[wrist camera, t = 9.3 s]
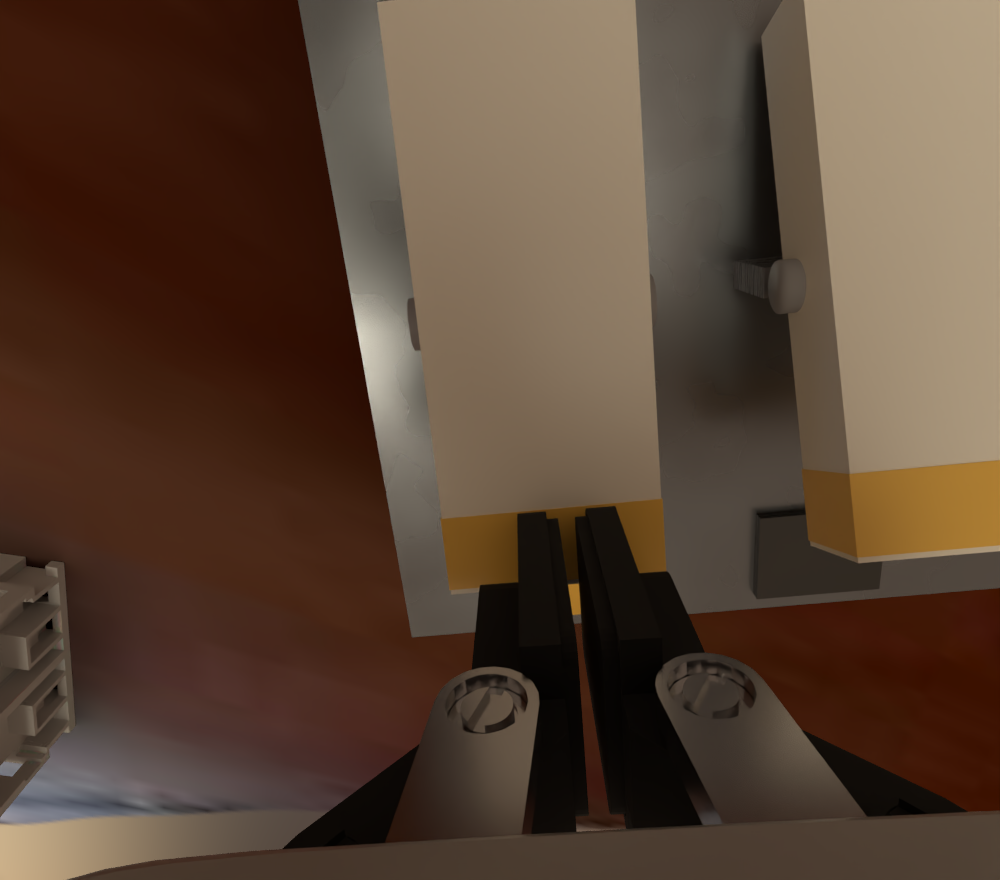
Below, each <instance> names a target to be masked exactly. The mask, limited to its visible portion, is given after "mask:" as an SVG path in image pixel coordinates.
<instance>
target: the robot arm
mask: <svg viewBox="0 0 1000 880" xmlns="http://www.w3.org/2000/svg"><path fill="white" fill-rule="evenodd" d="M575 531H576V546H577V562H578V577H579V593H580V608H581V624H582V639H583V650H584V658H585V664H586V670H587V677H588V683H589V689H590V695H591V701H592V707H593V713H594V720H595V726H596V732H597V738H598V744H599V750H600V757H601V763H602V769H603V775H604V781H605V787H606V793H607V800H608V806H609V811H610V814H624V819H625V825H626V829H620V830H601V831H583V832H576V820H575V816H589V812H588V796H587V782H586V767H585V752H584V738H583V723H582V708H581V694H580V679H579V664H578V653H577V643H576V634H575V627H574V621H573V614H572V608H571V601H570V594H569V588H568V581H567V574H566V568H565V561H564V555H563V548H562V541H561V535H560V528H559V522H558V518H554V519H547V517H546V511H545V512H533V513H520V514H517V534H518V582H513V583H499V584H486V585H480V588H479V597H478V608H477V619H476V630H475V641H474V652H473V663H472V670H471V671H467V672H464V673H462V674H461V675H459V676H457V677H455V678H453V679H452V680H450V681H449V682H448V683H447V684H446V685H445V686H444V687H443V688H442V689H441V690H440V692H439V694H438V696H437V697H436V699H435V701H434V704H433V707H432V710H431V713H430V716H429V719H428V721H427V724H426V727H425V730H424V733H423V736H422V739H421V741H420V744H419V745H418V746H416V747H415V748H414V749H412V750H411V751H410V752H408V753H407V754H406V755H404V756H403V757H402V758H400V759H399V760H397V761H396V762H395V763H393V764H392V765H391V766H389V767H388V768H387V769H385V770H384V771H383V772H381V773H380V774H379V775H377V776H376V777H375V778H373V779H372V780H371V781H369V782H368V783H367V784H365V785H364V786H362V787H361V788H360V789H358V790H357V791H356V792H354V793H353V794H352V795H350V796H349V797H348V798H346V799H345V800H344V801H342V802H341V803H340V804H338V805H337V806H336V807H334V808H333V809H331V810H330V811H329V812H327V813H326V814H325V815H323V816H322V817H321V818H320V819H318V820H317V821H315V822H314V823H313V824H311V825H310V826H309V827H307V828H306V829H305V830H303V831H302V832H301V833H299V834H298V835H297V836H296V837H295V838H294V839H292V840H291V841H290V842H289V843H288V844H287V845H286V846H285V847H284V848H283V849H279V850H262V851H249V852H238V853H227V854H217V855H206V856H197V857H186V858H176V859H165V860H155V861H149V862H144V863H138V864H132V865H126V866H121V867H115V868H109V869H104V870H100V871H97V872H93V873H90V874H86V875H83V876H79V877H75V878H71V879H68V880H1000V811H981V812H967V811H966V810H964V809H962V808H961V807H959V806H957V805H956V804H954V803H952V802H950V801H949V800H947V799H945V798H943V797H941V796H939V795H937V794H935V793H933V792H931V791H929V790H927V789H924V788H922V787H920V786H918V785H916V784H914V783H912V782H910V781H908V780H906V779H904V778H901V777H899V776H897V775H895V774H893V773H891V772H889V771H887V770H885V769H883V768H881V767H878V766H876V765H874V764H872V763H870V762H868V761H866V760H864V759H862V758H860V757H858V756H856V755H853V754H851V753H849V752H847V751H845V750H843V749H841V748H839V747H837V746H835V745H833V744H830V743H828V742H826V741H824V740H822V739H820V738H818V737H816V736H814V735H812V734H810V733H807V732H805V731H803V730H801V729H800V728H799V726H798V725H797V724H796V722H795V721H794V720H793V718H792V717H791V716H790V714H789V713H788V712H787V710H786V709H785V708H784V706H783V705H782V704H781V702H780V701H779V700H778V699H777V697H776V696H775V695H774V693H773V692H772V691H771V689H770V688H769V687H768V685H767V684H766V683H765V681H764V680H763V679H762V678H761V677H760V676H759V675H758V674H757V673H756V672H755V671H754V670H753V669H752V668H750V667H748V666H747V665H745V664H743V663H742V662H740V661H738V660H735V659H732V658H729V657H726V656H723V655H718V654H711V653H705V652H704V650H703V647H702V645H701V643H700V640H699V638H698V636H697V634H696V631H695V629H694V627H693V625H692V622H691V620H690V618H689V616H688V613H687V611H686V609H685V607H684V604H683V602H682V600H681V598H680V595H679V593H678V591H677V588H676V586H675V584H674V582H673V579H672V577H671V575H670V574H669V572H667V571H662V572H649V573H639V571H638V568H637V566H636V563H635V560H634V557H633V554H632V551H631V549H630V546H629V543H628V540H627V537H626V535H625V532H624V529H623V526H622V523H621V521H620V518H619V515H618V512H617V509H616V507H615V506H609V507H596V508H586V510H585V516H580V517H575Z"/></svg>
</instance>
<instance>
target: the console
mask: <svg viewBox="0 0 1000 880" xmlns="http://www.w3.org/2000/svg"><path fill="white" fill-rule="evenodd" d="M382 1H390V0H298V3H299V9H300V14H301V20H302V26H303V31H304V37H305V42H306V48H307V53H308V59H309V65H310V70H311V76H312V81H313V87H314V93H315V98H316V104H317V109H318V115H319V120H320V126H321V132H322V137H323V143H324V148H325V154H326V160H327V165H328V171H329V176H330V182H331V188H332V193H333V199H334V204H335V210H336V215H337V221H338V227H339V232H340V238H341V243H342V249H343V255H344V260H345V266H346V271H347V277H348V282H349V288H350V294H351V299H352V305H353V310H354V316H355V322H356V327H357V333H358V338H359V344H360V349H361V355H362V361H363V366H364V372H365V377H366V383H367V389H368V394H369V400H370V405H371V411H372V417H373V422H374V428H375V433H376V439H377V444H378V450H379V456H380V461H381V467H382V472H383V478H384V484H385V489H386V495H387V500H388V506H389V511H390V517H391V523H392V528H393V534H394V539H395V545H396V551H397V556H398V562H399V567H400V573H401V578H402V584H403V590H404V595H405V601H406V606H407V612H408V618H409V623H410V629H411V634H412V637H421V636H433V635H445V634H457V633H468V632H475V630H476V619H477V608H478V597H479V592H476V593H465V594H453V595H451V590H449V582H448V574H447V567H446V559H445V551H444V543H443V535H442V527H441V509H440V501H439V493H438V485H437V477H436V469H435V461H434V453H433V445H432V437H431V429H430V421H429V413H428V405H427V397H426V389H425V381H424V373H423V365H422V357H421V350H420V351H415V350H414V348H413V345H412V342H411V338H410V332H409V326H408V315H407V303H408V299H411V298H414V294H413V286H412V278H411V270H410V262H409V254H408V246H407V238H406V230H405V222H404V214H403V206H402V198H401V190H400V182H399V174H398V166H397V158H396V150H395V142H394V134H393V126H392V118H391V110H390V102H389V94H388V86H387V78H386V70H385V62H384V54H383V46H382V38H381V30H380V22H379V14H378V6H377V2H382ZM781 2H782V0H635V3H636V23H637V42H638V61H639V80H640V99H641V119H642V138H643V157H644V176H645V196H646V215H647V234H648V253H649V272H650V274H652V276H653V278H654V282H655V286H656V294H657V318H656V323H655V325H654V327H652V330H653V349H654V368H655V388H656V407H657V426H658V445H659V465H660V484H661V498H662V499H663V515H664V535H665V554H666V571H667V572H669V574H670V575H671V577H672V579H673V582H674V584H675V586H676V588H677V591H678V593H679V595H680V598H681V600H682V602H683V604H684V607H685V609H686V611H687V613H688V614H695V613H707V612H718V611H730V610H742V609H754V608H766V607H778V606H790V605H802V604H814V603H826V602H837V601H849V600H861V599H873V598H885V597H897V596H909V595H921V594H933V593H945V592H957V591H968V590H980V589H992V588H1000V551H995V552H984V553H972V554H961V555H949V556H937V557H926V558H914V559H903V560H891V561H879V562H868V563H856V562H854V561H851V560H848V559H846V558H843V557H840V556H838V555H835V554H832V553H829V552H827V551H824V550H821V549H819V548H816V547H813V546H810V541H809V540H808V530H807V520H806V510H805V499H804V489H803V479H802V469H803V463H802V453H801V443H800V432H799V422H798V412H797V401H796V391H795V381H794V370H793V360H792V350H791V339H790V329H789V319H788V313H786V314H777V313H775V312H774V311H773V309H772V307H771V304H770V301H769V295H768V279H769V274H770V270H771V267H772V265H773V264H774V262H775V261H777V260H783V257H782V246H781V236H780V226H779V215H778V205H777V195H776V184H775V174H774V164H773V153H772V143H771V133H770V122H769V112H768V102H767V91H766V81H765V70H764V60H763V50H762V39H761V36H762V34H763V33H764V31H765V29H766V27H767V26H768V24H769V22H770V21H771V19H772V17H773V16H774V14H775V12H776V10H777V9H778V7H779V5H780V4H781ZM568 588H569V594H570V601H571V608H572V614H573V621H574V624H576V623H581V608H580V593H579V584H569V585H568Z"/></svg>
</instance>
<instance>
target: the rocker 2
mask: <svg viewBox="0 0 1000 880" xmlns="http://www.w3.org/2000/svg"><path fill="white" fill-rule="evenodd" d="M761 39H762V50H763V60H764V70H765V81H766V91H767V102H768V112H769V122H770V133H771V143H772V153H773V164H774V174H775V184H776V195H777V205H778V215H779V226H780V236H781V246H782V257H783V260H777V261H775V262H774V264H773V265H772V267H771V270H770V274H769V279H768V295H769V301H770V304H771V307H772V309H773V311H774V312H775V313H777V314H786V313H788V319H789V329H790V339H791V350H792V360H793V370H794V381H795V391H796V401H797V412H798V422H799V432H800V443H801V453H802V463H803V469H802V479H803V489H804V499H805V510H806V520H807V530H808V540H809V541H810V546H813V547H816V548H819V549H821V550H824V551H827V552H829V553H832V554H835V555H838V556H840V557H843V558H846V559H848V560H851V561H854V562H856V563H868V562H879V561H891V560H903V559H914V558H926V557H937V556H949V555H961V554H972V553H984V552H995V551H1000V0H782V2H781V4H780V5H779V7H778V9H777V10H776V12H775V14H774V16H773V17H772V19H771V21H770V22H769V24H768V26H767V27H766V29H765V31H764V33H763V34H762V36H761Z"/></svg>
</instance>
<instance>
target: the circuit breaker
mask: <svg viewBox="0 0 1000 880" xmlns="http://www.w3.org/2000/svg"><path fill="white" fill-rule="evenodd" d="M47 591H48V597H43V596H42V595H44V594H45V593H46V592H47ZM50 619H52V623H53V630H52V629H46V623H47V622H48V621H49V620H50ZM56 685H58V690H56V689H53V688H54V687H55V686H56ZM75 726H76V723H75V709H74V695H73V682H72V668H71V654H70V640H69V626H68V612H67V598H66V584H65V570H64V562H57V561H51V562H49V563H48V564H47V565H46V566H45V569H43V568H36V567H29V566H26V557H23V556H16V555H9V554H2V553H0V765H1V764H2V763H3V762H4V761H5V762H13V763H21V764H23V765H22V766H21V767H20V768H19V770H18V771H17V772H16V773H15V774H14V775H13V777H10V776H2V775H0V817H1V816H2V814H3V813H4V812H5V811H6V809H7V808H8V807H9V806H10V805H11V803H12V802H13V801H14V800H15V799H16V797H17V796H18V795H19V794H20V792H21V791H22V790H23V789H24V788H25V786H26V785H27V784H28V783H29V782H30V780H31V779H32V778H33V777H34V776H35V774H36V773H37V772H38V771H39V769H40V768H41V767H42V766H43V765H44V763H45V762H46V761H47V760H48V759H49V757H50V755H49V749H50V747H51V746H52V745H53V744H54V743H55V741H56V740H57V739H58V738H59V737H60V735H61V734H62V733H63V732H66V733H70V732H71V731H72V729H73V728H74V727H75Z"/></svg>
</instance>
